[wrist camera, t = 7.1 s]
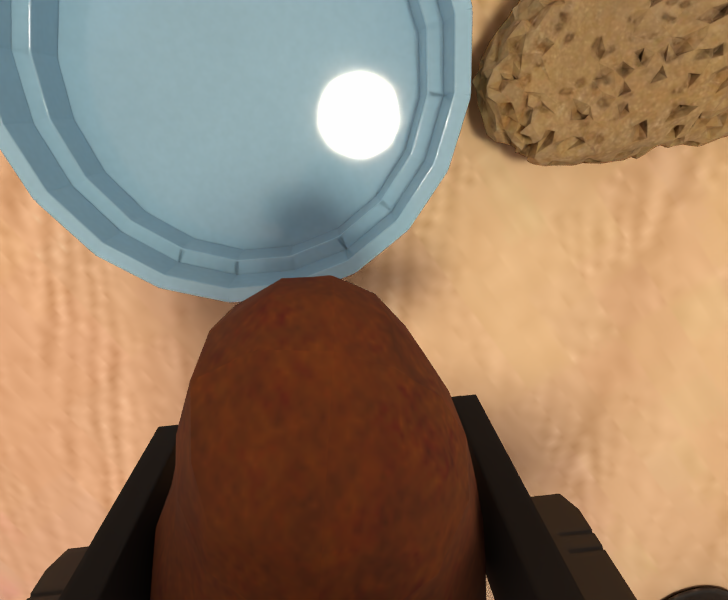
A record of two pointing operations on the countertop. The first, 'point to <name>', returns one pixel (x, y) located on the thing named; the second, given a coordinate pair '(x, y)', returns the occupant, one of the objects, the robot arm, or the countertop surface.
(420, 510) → the potato
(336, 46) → the bowl
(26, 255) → the countertop surface
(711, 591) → the milk frother
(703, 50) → the sponge
